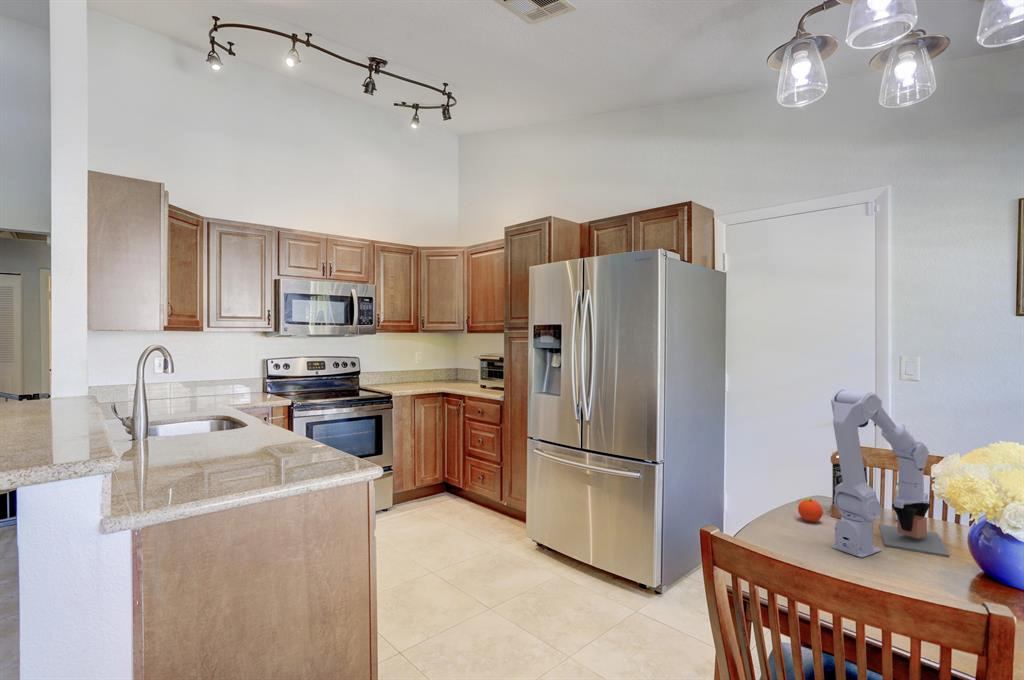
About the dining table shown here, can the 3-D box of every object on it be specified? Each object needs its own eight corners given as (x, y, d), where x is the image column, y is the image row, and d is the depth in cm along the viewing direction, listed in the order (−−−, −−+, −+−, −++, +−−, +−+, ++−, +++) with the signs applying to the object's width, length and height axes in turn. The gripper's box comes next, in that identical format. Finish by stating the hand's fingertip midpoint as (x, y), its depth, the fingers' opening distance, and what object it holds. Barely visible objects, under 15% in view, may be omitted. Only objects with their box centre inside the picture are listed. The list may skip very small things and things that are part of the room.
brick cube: (917, 538, 141) (917, 520, 141) (897, 532, 146) (897, 515, 146) (926, 535, 144) (926, 517, 144) (906, 529, 148) (906, 512, 148)
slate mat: (949, 557, 134) (949, 555, 134) (884, 546, 141) (884, 544, 141) (937, 535, 149) (937, 533, 149) (879, 526, 156) (879, 524, 156)
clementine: (790, 518, 164) (789, 496, 164) (804, 515, 167) (803, 493, 167) (813, 526, 157) (813, 503, 157) (827, 522, 160) (827, 500, 160)
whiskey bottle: (830, 517, 165) (829, 420, 165) (833, 508, 172) (832, 416, 173) (869, 523, 158) (868, 422, 158) (870, 515, 166) (869, 418, 166)
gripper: (914, 488, 138) (914, 538, 138) (940, 481, 145) (940, 528, 145) (885, 482, 144) (886, 529, 144) (911, 475, 151) (912, 520, 151)
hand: (911, 528), depth 145 cm, fingers closed on brick cube, 5 cm apart
